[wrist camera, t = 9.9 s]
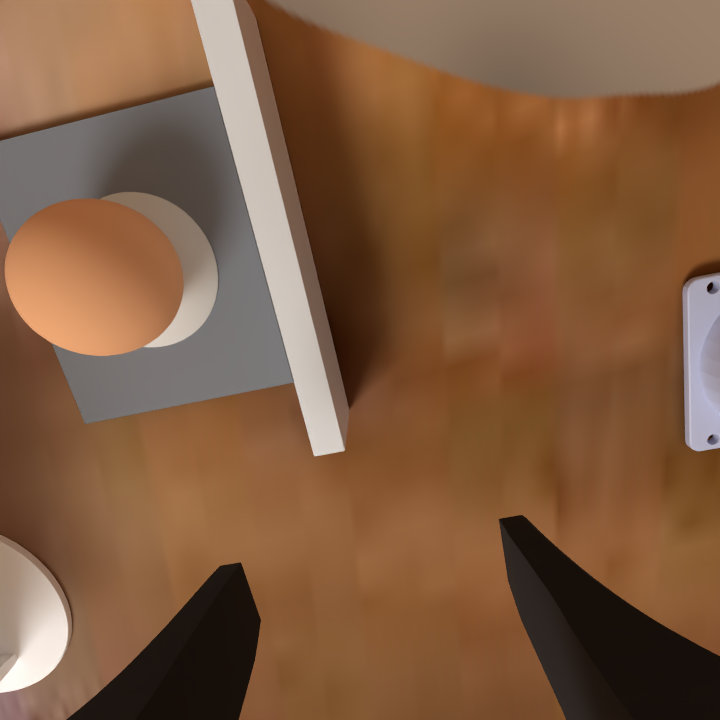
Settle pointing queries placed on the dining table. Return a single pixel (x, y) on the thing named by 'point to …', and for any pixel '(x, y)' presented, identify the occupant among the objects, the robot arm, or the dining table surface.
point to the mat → (185, 232)
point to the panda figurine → (29, 618)
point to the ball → (94, 277)
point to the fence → (275, 213)
